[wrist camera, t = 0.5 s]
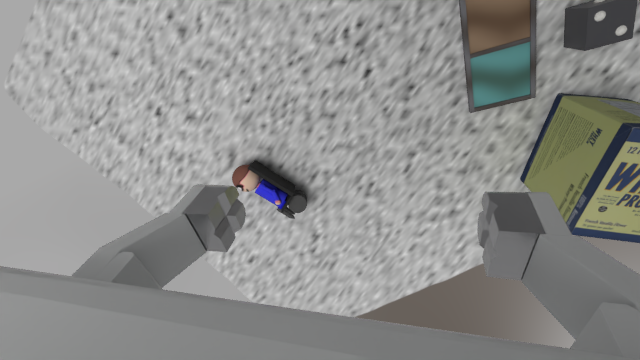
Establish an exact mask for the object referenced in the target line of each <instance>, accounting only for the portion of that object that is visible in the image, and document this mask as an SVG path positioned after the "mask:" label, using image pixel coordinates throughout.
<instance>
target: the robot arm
mask: <svg viewBox="0 0 640 360" xmlns="http://www.w3.org/2000/svg"><path fill="white" fill-rule="evenodd" d="M238 196H239V193H238V191H237V189H236V187H233V186H225V185H199V184H198V185H195V186H193V187H192V188H191V189H190V190H189V192H188V193H187V194H186V195H185V196H184V197H183V198H182V199H181V200H180V202H179V203H178V204H177V205H176V206H175V207H174V208H173V209H172V210H171V212H170V213H165V214H163V215H161V216H159V217H157V218H155V219H154V220H152V221H150V222H148V223H146V224H144V225H142V226H140V227H138V228H136V229H134V230H133V231H131V232H129V233H127V234H125V235H123V236H121V237H120V238H117V239H116V240H114V241H112V242H110V243H108V244H106V245H104V246H102V247H101V248H99V249H98V250H97V251H96V252H95V253H94V254H93V255H92V256H91V257H90V258H89V259H88V260H87V261H86V262H85V263H84V264H83V265H82V266H81V267H80V268H79V269H78V270H77V271H76V272H75V273H74V274H73V275H72V276H64V275H58V274H50V273H44V272H37V271H30V270H23V269H16V268H10V267H3V266H0V360H640V274H638V273H636V272H635V271H633V270H632V269H630V268H628V267H627V266H626V265H624V264H622V263H621V262H619V261H617V260H616V259H614V258H613V257H611V256H610V255H608V254H607V253H605V252H603V251H602V250H600V249H599V248H597V247H595V246H594V245H592V244H591V243H589V242H588V241H586V240H585V239H583V238H581V237H580V236H572V234H571V232H570V230H569V228H568V226H567V225H566V223H565V221H564V219H563V217H562V216H561V214H560V212H559V210H558V208H557V207H556V205H555V203H554V201H553V199H552V197H551V196H550V194H549V193H547V192H525V193H523V192H484V195H483V198H482V206H483V211H482V212H481V213H480V214H479V218H478V239H479V244H480V246H482V247H483V248H484V252H483V256H482V258H483V262H484V266H485V270H486V275H487V276H488V277H496V278H504V279H513V280H521V281H522V283H523V284H524V285H525V286H526V287H527V288H528V289H529V291H530V292H532V294H533V295H534V296H535V297H536V298H537V299H538V300H539V301H540V302H541V303H542V304H543V305H544V307H545V308H546V309H547V310H548V311H549V312H550V313H551V314H552V315H553V316H554V317H555V318H556V319H557V320H558V322H560V324H561V325H562V326H563V327H564V328H565V329H566V330H567V331H568V332H569V333H570V334H571V335H572V336H573V337H574V339H575V340H576V341H575V342H574V343H573V345H572V346H571V348H570V349H568V348H562V347H554V346H547V345H541V344H534V343H527V342H520V341H513V340H506V339H499V338H493V337H486V336H478V335H472V334H465V333H458V332H451V331H444V330H437V329H430V328H424V327H417V326H409V325H403V324H396V323H388V322H381V321H375V320H368V319H361V318H354V317H347V316H340V315H333V314H326V313H319V312H312V311H305V310H299V309H292V308H285V307H278V306H271V305H264V304H258V303H250V302H244V301H237V300H230V299H223V298H216V297H209V296H202V295H196V294H188V293H182V292H175V291H168V290H163V289H162V287H163V286H165V285H166V284H167V283H168V282H170V281H171V280H172V279H173V278H175V277H176V276H177V275H178V274H180V273H181V272H182V271H183V270H185V269H186V268H187V267H188V266H190V265H191V264H192V263H193V262H194V261H196V260H197V259H198V258H199V257H201V256H202V255H203V254H204V253H206V251H220V252H227V251H228V249H229V248H230V246H231V244H232V243H233V241H234V239H235V232H237V231H238V230H240V229H241V228H242V226H243V224H244V221H245V216H246V213H245V208H244V205H243V203H241V202H240V201H239V200H238Z"/></svg>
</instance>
